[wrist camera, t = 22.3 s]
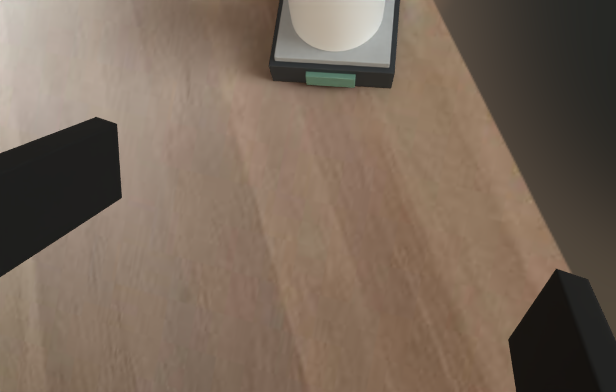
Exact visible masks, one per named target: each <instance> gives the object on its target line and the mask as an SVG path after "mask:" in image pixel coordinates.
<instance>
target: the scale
mask: <svg viewBox="0 0 616 392" xmlns="http://www.w3.org/2000/svg"><path fill="white" fill-rule="evenodd" d="M399 5H400V0H385V7H384V14H383V19H382V22H381V25H380V27H379V29H378V30H377V32H376V33H375V34H374V35H373V36H372V37H371V38H370V39H369V40H368V41H367V42H365V43H364V44H362V45H360V46H358V47H356V48H353V49H350V50H346V51H338V52H332V51H324V50H320V49H317V48H315V47H312V46H311V45H309V44H307V43H306V42H305V41H303V40H302V39H301V38H300V37H299V36H298V34H297V33H296V31H295V29H294V27H293V24H292V21H291V15H290V9H289V4H288V0H280V2H279V8H278V14H277V20H276V26H275V32H274V38H273V44H272V50H271V56H270V61H269V68H270V72H271V75H272V78H273V81H288V82H303V83H307V85H321V86H336V87H352V88H354V87H355V86H365V87H380V88H391V87H392V82H393V78H394V73H395V60H396V46H397V32H398V18H399Z"/></svg>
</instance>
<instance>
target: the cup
mask: <svg viewBox="0 0 616 392" xmlns="http://www.w3.org/2000/svg"><path fill="white" fill-rule="evenodd" d="M288 4H289V9H290V15H291V21H292V24H293V27H294V29H295V31H296V33H297V34H298V36H299V37H300V38H301V39H302V40H303V41H305V42H306V43H307V44H309V45H311V46H312V47H315V48H317V49H320V50H324V51H332V52H338V51H346V50H350V49H353V48H356V47H358V46H360V45H362V44H364V43H365V42H367V41H368V40H369V39H370V38H371V37H372V36H373V35H374V34H375V33H376V32H377V30H378V29H379V27H380V25H381V22H382V19H383V14H384V7H385V0H288Z"/></svg>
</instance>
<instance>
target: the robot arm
mask: <svg viewBox="0 0 616 392" xmlns="http://www.w3.org/2000/svg"><path fill="white" fill-rule="evenodd" d="M121 198H122V193H121V178H120V163H119V147H118V132H117V124H116V123H113V122H110V121H107V120H104V119H101V118H98V117H95V118H92V119H90V120H87V121H84V122H82V123H79V124H77V125H74V126H71V127H69V128H66V129H63V130H61V131H58V132H55V133H53V134H50V135H47V136H45V137H42V138H40V139H37V140H34V141H32V142H29V143H26V144H24V145H21V146H18V147H16V148H13V149H11V150H8V151H5V152H3V153H0V277H1V276H3V275H4V274H6V273H7V272H9V271H10V270H12V269H13V268H15V267H17V266H18V265H20V264H21V263H23V262H24V261H26V260H27V259H29V258H30V257H32V256H33V255H35V254H36V253H38V252H40V251H41V250H43V249H44V248H46V247H47V246H49V245H50V244H52V243H53V242H55V241H56V240H58V239H59V238H61V237H63V236H64V235H66V234H67V233H69V232H70V231H72V230H73V229H75V228H76V227H78V226H79V225H81V224H82V223H84V222H86V221H87V220H89V219H90V218H92V217H93V216H95V215H96V214H98V213H99V212H101V211H102V210H104V209H105V208H107V207H109V206H110V205H112V204H113V203H115V202H116V201H118V200H119V199H121ZM508 341H509V347H510V354H511V360H512V367H513V373H514V380H515V386H516V392H616V341H615V338H614V336H613V334H612V332H611V329H610V327H609V325H608V323H607V320H606V318H605V316H604V314H603V312H602V309H601V307H600V305H599V303H598V300H597V298H596V296H595V294H594V292H593V289H592V287H591V285H590V283H589V281H588V279H586V278H582V277H579V276H576V275H573V274H570V273H567V272H564V271H561V270H558V269H556V270H555V271H554V273H553V274H552V276H551V277H550V279H549V280H548V282H547V283H546V285H545V286H544V288H543V289H542V291H541V292H540V294H539V295H538V296H537V298H536V299H535V301H534V302H533V304H532V305H531V307H530V308H529V310H528V311H527V313H526V314H525V316H524V317H523V319H522V320H521V322H520V323H519V325H518V326H517V327H516V329H515V330H514V332H513V333H512V335H511V336H510V338H509V339H508Z"/></svg>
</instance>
